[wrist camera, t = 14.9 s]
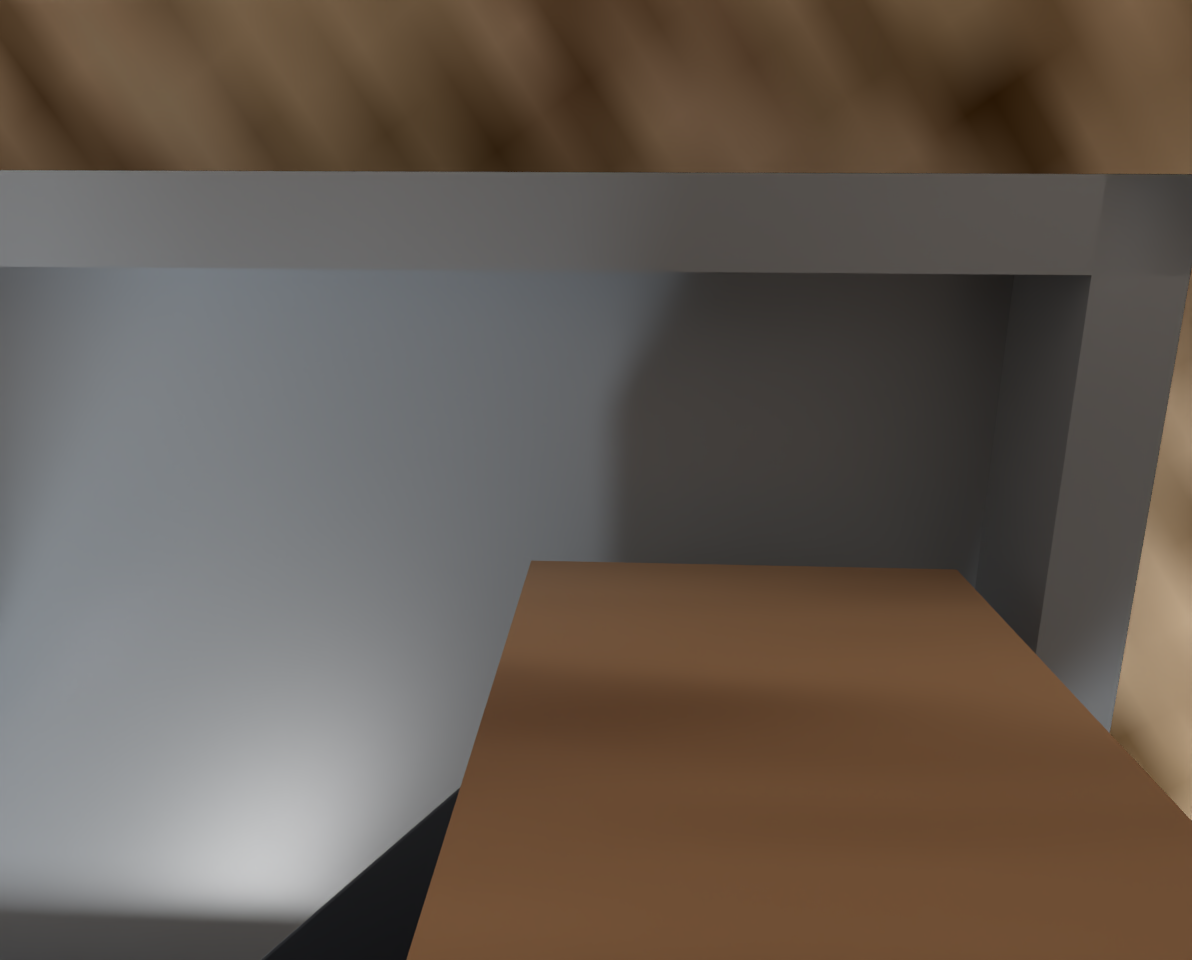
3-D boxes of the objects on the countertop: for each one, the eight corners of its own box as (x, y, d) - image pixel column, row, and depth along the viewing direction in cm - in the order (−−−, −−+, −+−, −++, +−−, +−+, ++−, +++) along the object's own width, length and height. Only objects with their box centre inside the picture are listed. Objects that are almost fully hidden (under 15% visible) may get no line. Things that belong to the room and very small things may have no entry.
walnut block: (913, 924, 10) (1191, 1622, 5) (536, 911, 10) (440, 1573, 5) (956, 568, 9) (1367, 1008, 4) (530, 560, 9) (401, 971, 4)
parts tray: (961, 1033, 12) (1028, 1199, 10) (-309, 983, 13) (-490, 1128, 11) (1080, 185, 10) (1206, 175, 7) (-566, 178, 10) (-881, 167, 8)
